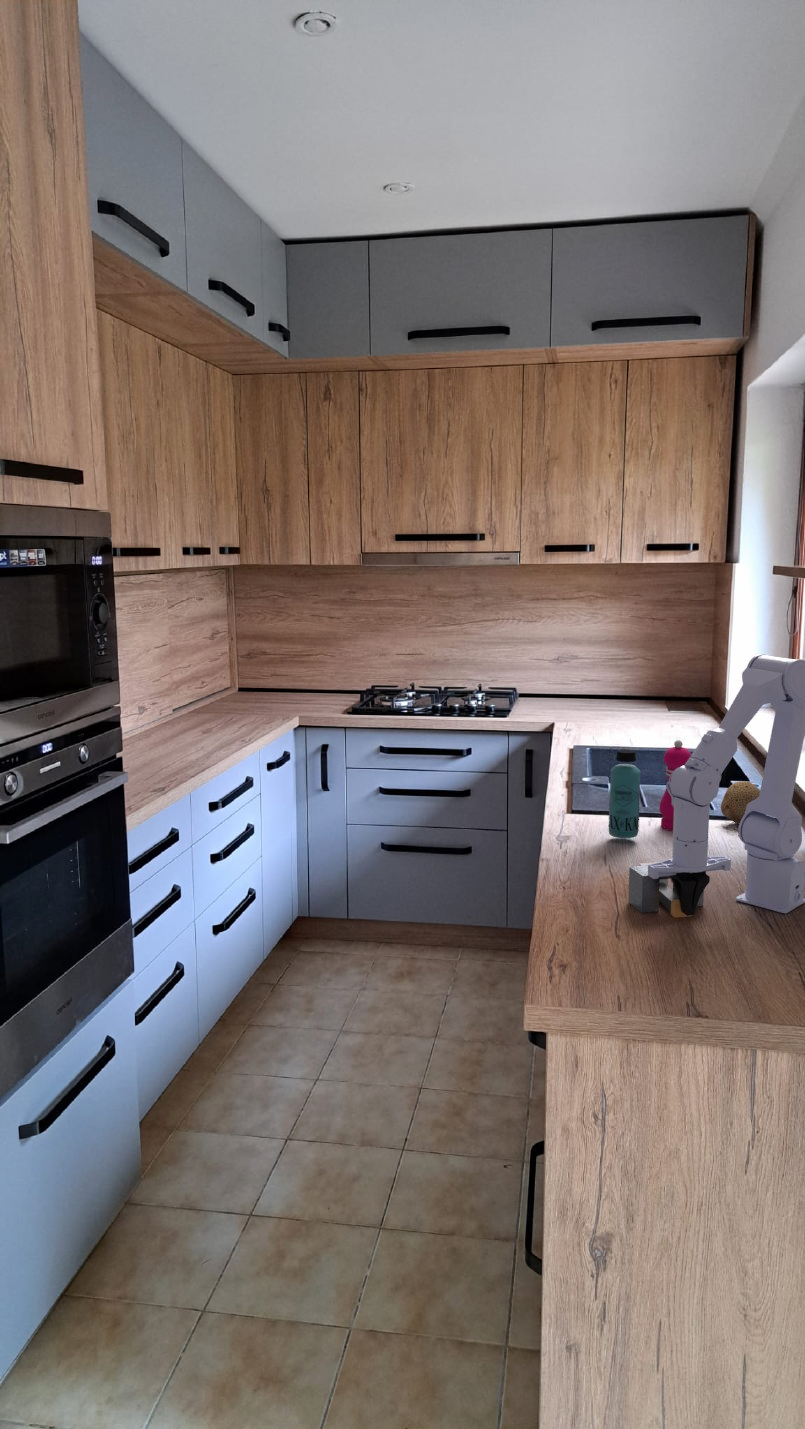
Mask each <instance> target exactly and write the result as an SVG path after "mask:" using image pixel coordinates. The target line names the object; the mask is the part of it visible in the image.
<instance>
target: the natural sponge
mask: <svg viewBox="0 0 805 1429" xmlns="http://www.w3.org/2000/svg"><path fill="white" fill-rule="evenodd" d="M760 790H761V789H759V787H757V786H756V784H753V783H752V782H750V781H745V780H744V781H740V780H739V781H735V782H733V783H732V784H731V785H730V786H728V788H727V789H726V791H725V793H724V795H723V798H722V801H721V804H720V812H721V813H722V815H723V816H724V817H726V818H727V819H729V820H731V821H732V822H734V823H735V824H738V825H739V824H740V821H741V819H742V818H743V816H744V814H745V811H746V806H747V804H749V803H750V802H752V801H753V800H755V799H757V798H758V797H759V795H760Z"/></svg>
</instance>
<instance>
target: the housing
mask: <svg viewBox="0 0 805 1429" xmlns="http://www.w3.org/2000/svg"><path fill="white" fill-rule="evenodd" d="M661 879H668V880H671V878H670V876H662V877H659V878H658V879H653V878H651V877H650V876H648V865H642V866H639V865H633V866H629V870H628V904H629V905H630V906H632V907H633V908H634V909H636V910H637V911H638V912H640V914H644V913H646V912H647V913H653V912H659V905H660V902H659V881H660V880H661ZM672 890H673V891H674V892H675V893H676V894H677V891H676V889H675V886H674V884H673V883H672ZM704 894H705V890H704V891H703V892H702V894H701V896H700V899H699V901H698V904H697V907H704V899H705V898H704V896H705V895H704Z"/></svg>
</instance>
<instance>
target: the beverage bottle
mask: <svg viewBox="0 0 805 1429" xmlns="http://www.w3.org/2000/svg"><path fill="white" fill-rule="evenodd" d="M615 758H616V759H615V760H616V761H618V762H621V763H620V764H619V763H618V764H616V765H614V766H613V767H611V769H610V786H609V788H610V791H609V802H608V827H607V828H608V834H609V835H610V836H611V837H614V838H616V839H617V838H618V839H633V838H636V837H637V836H638V834H639V832H640V829H639V827H640V819H641V818H640V816H641V814H640V811H641V809H640V800H641V796H640V793H641V792H640V790H641V770H640V769H639V768H638V767H637V766H636V765H635V764H629V763H631V762H632V763H633V762H636V761H637V753H636V751H635V749H634V750H633V749H629V748H626V749H625V748H623V749H622V748H621V749H618V750H617V751H616V757H615Z"/></svg>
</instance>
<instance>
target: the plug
mask: <svg viewBox="0 0 805 1429" xmlns="http://www.w3.org/2000/svg"><path fill="white" fill-rule="evenodd" d="M659 862H660V861H658V862H657V861H656V862H643V863H642V862H641V863H638V864H639V865H638V866H642V865H648V864H655V863H659ZM659 904H662V906H663V907H664V908H666V909H667V910H668V911H669V912H670V915H671V916H672V917H673V918H686V917H692V916H693V915H690V916H687V915H685V914H684V913H683V912H681V906H680V901H679V897H678V894H676V893H675V892H674V891H673V888H671V887H670V886H669V879H661V880H660V881H659Z"/></svg>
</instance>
